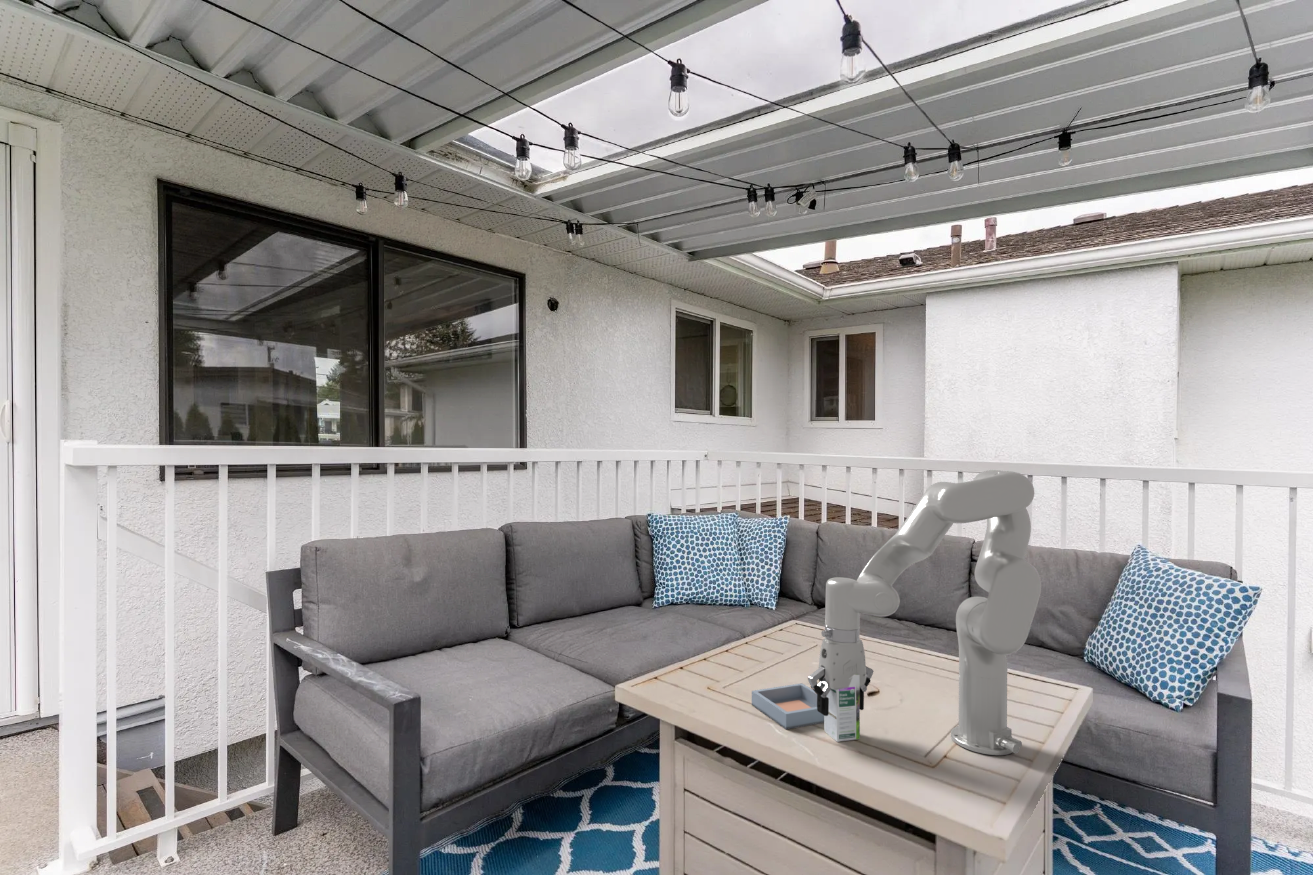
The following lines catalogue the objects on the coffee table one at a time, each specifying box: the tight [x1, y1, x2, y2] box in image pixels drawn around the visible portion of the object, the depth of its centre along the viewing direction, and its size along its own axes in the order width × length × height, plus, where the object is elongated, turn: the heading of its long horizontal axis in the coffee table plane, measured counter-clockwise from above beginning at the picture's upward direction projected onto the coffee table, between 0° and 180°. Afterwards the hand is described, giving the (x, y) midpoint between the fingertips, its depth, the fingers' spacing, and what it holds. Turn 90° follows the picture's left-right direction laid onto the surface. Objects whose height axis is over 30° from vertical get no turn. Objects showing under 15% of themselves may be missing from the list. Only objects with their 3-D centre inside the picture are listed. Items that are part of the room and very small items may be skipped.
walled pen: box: [751, 682, 824, 730], centre depth 156 cm, size 15×15×4 cm
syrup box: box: [823, 674, 861, 743], centre depth 143 cm, size 6×6×14 cm
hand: (840, 710), depth 143 cm, fingers open, 9 cm apart
